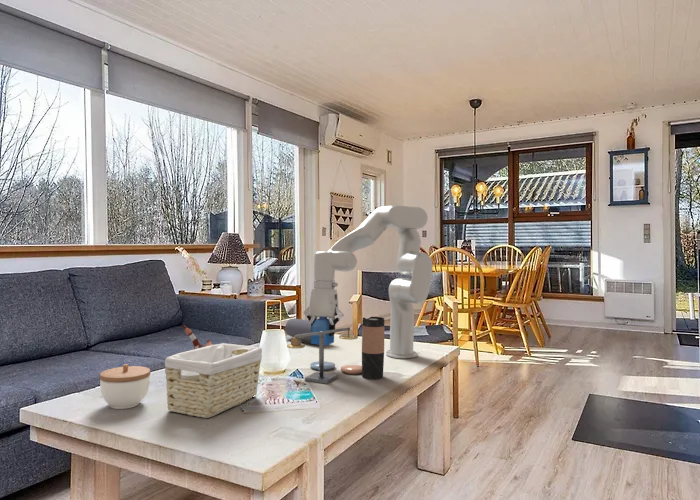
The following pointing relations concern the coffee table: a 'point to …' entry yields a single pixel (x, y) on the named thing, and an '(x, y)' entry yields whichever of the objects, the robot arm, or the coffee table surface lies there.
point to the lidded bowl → (124, 385)
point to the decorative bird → (195, 339)
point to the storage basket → (211, 378)
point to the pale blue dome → (326, 365)
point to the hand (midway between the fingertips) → (322, 334)
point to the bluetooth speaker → (299, 329)
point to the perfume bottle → (321, 325)
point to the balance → (320, 353)
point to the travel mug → (372, 348)
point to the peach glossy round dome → (352, 369)
